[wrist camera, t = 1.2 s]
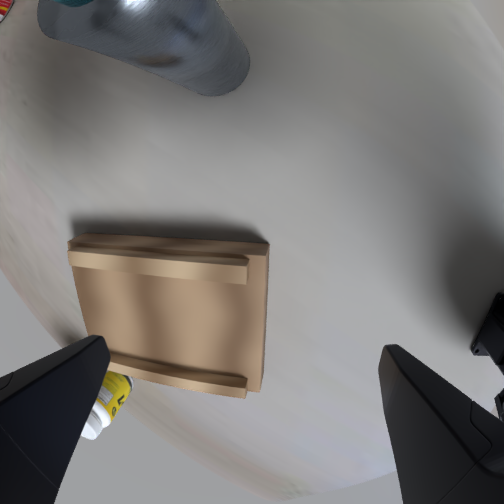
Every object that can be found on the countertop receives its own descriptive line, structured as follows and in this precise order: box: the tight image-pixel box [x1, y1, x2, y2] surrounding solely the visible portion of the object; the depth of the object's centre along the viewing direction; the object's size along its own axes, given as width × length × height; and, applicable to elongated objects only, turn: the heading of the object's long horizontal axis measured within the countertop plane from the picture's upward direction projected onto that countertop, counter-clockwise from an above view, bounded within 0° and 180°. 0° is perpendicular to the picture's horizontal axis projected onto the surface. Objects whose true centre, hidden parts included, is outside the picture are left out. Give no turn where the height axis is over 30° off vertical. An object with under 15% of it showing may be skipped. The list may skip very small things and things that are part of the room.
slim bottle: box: [37, 0, 250, 96], centre depth 11 cm, size 5×5×15 cm
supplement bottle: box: [81, 370, 133, 439], centre depth 25 cm, size 5×5×8 cm
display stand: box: [67, 233, 270, 399], centre depth 23 cm, size 16×12×4 cm
